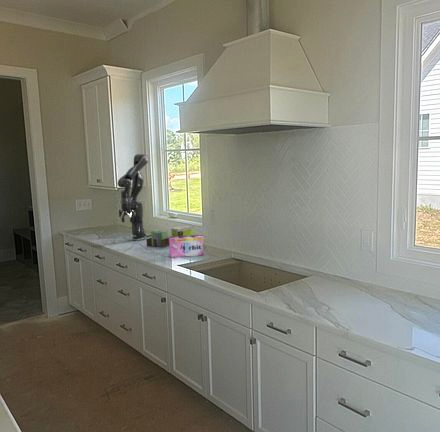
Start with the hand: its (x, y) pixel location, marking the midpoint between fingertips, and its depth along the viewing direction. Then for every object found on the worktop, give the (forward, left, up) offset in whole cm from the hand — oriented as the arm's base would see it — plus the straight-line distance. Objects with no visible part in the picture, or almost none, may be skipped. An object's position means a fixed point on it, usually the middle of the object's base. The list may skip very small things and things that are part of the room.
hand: (127, 222), depth 342 cm
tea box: (-3, +53, -18) cm, 55 cm away
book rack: (+7, +36, -17) cm, 41 cm away
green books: (+7, +34, -16) cm, 38 cm away
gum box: (+26, +75, -18) cm, 81 cm away
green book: (+7, +42, -16) cm, 46 cm away
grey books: (+7, +39, -16) cm, 43 cm away
